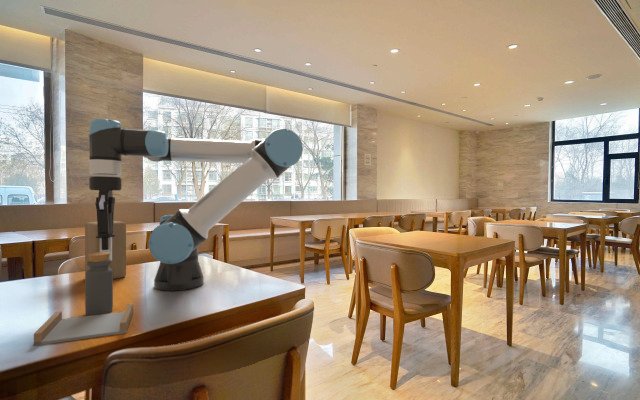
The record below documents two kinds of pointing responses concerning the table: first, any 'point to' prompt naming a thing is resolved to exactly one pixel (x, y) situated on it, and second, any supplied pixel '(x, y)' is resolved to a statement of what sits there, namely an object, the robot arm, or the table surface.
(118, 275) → the wooden block
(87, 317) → the grey tray
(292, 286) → the table surface
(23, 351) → the table surface
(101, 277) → the bottle
